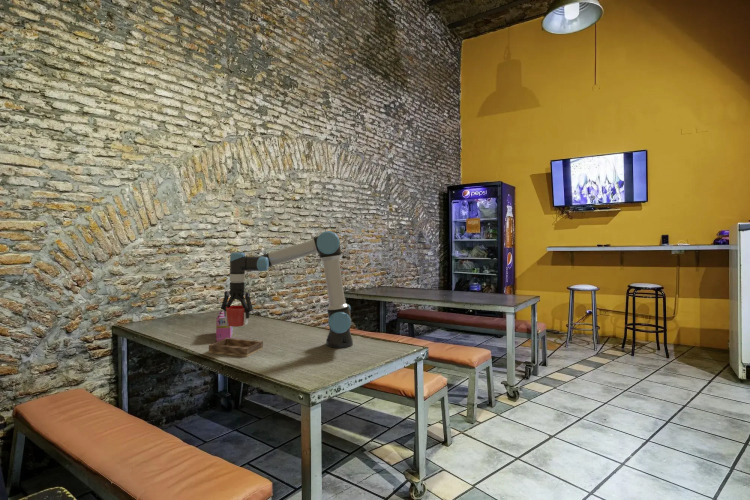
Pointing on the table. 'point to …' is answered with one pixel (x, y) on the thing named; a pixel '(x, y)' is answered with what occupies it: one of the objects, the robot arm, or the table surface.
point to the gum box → (222, 328)
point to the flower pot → (235, 316)
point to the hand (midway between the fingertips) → (236, 323)
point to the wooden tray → (236, 347)
